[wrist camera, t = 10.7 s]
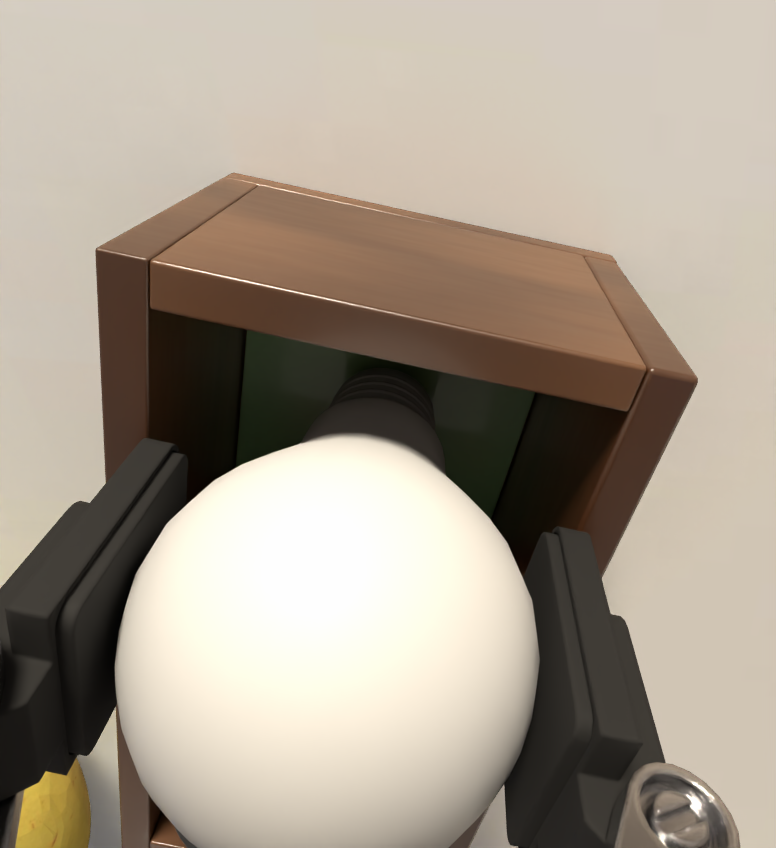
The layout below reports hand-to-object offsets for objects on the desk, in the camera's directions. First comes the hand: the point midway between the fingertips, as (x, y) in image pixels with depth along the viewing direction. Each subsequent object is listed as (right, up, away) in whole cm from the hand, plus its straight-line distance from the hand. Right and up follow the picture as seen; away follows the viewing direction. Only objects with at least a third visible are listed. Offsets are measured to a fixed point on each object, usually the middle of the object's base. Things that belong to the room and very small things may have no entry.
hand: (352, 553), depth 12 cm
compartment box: (0, 0, +8) cm, 8 cm away
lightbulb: (+1, +3, +5) cm, 6 cm away
